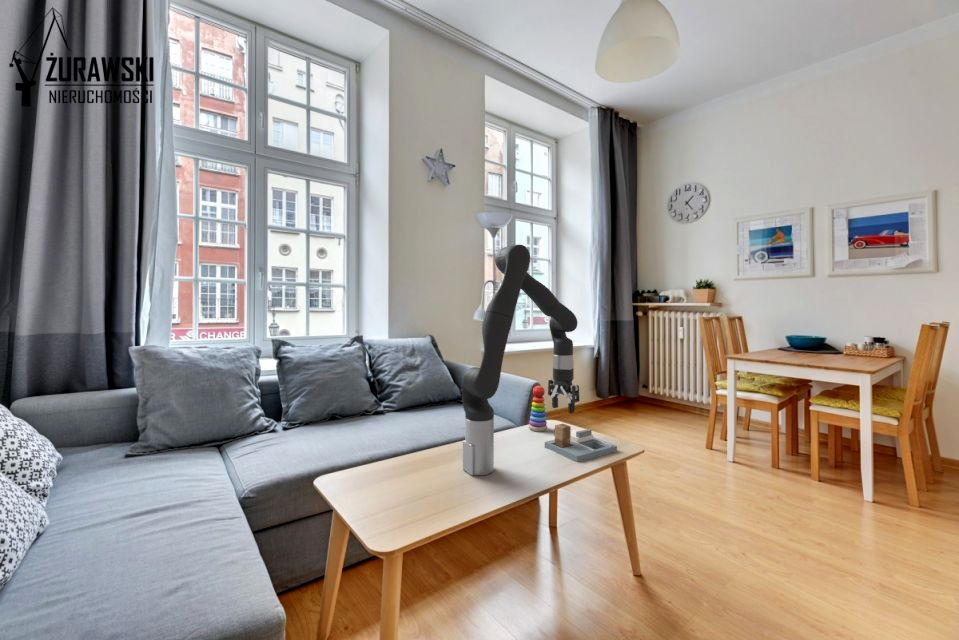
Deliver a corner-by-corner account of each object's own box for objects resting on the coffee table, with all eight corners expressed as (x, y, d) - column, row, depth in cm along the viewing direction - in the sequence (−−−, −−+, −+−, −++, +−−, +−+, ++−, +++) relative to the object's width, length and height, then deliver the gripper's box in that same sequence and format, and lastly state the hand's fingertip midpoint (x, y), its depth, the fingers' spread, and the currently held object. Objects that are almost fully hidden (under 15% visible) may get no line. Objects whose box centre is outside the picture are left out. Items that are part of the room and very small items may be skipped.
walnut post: (562, 452, 149) (562, 428, 149) (554, 449, 153) (555, 425, 153) (570, 450, 152) (570, 426, 151) (562, 447, 155) (563, 423, 155)
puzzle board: (576, 462, 140) (577, 454, 140) (544, 447, 155) (544, 440, 155) (616, 451, 151) (617, 444, 151) (582, 438, 165) (583, 431, 165)
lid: (577, 443, 152) (577, 433, 152) (562, 437, 159) (562, 427, 159) (592, 439, 157) (593, 429, 156) (577, 433, 163) (577, 424, 163)
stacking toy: (548, 432, 173) (549, 388, 172) (529, 432, 173) (529, 387, 172) (546, 426, 181) (546, 384, 180) (527, 426, 181) (528, 384, 180)
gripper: (542, 365, 155) (542, 407, 156) (569, 370, 143) (569, 416, 144) (557, 363, 159) (557, 404, 160) (584, 368, 147) (584, 413, 148)
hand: (563, 410), depth 152 cm, fingers open, 8 cm apart
